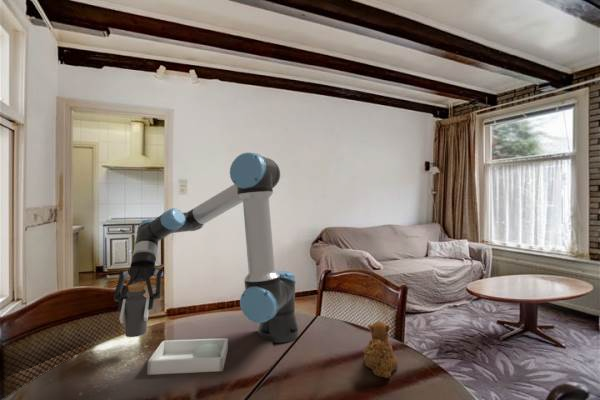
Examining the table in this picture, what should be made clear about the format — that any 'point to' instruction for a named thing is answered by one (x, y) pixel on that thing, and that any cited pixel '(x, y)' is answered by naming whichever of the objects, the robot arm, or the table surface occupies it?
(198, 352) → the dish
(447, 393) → the table surface
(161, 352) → the tray
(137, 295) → the bottle
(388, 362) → the brown fuzzy plush figure
